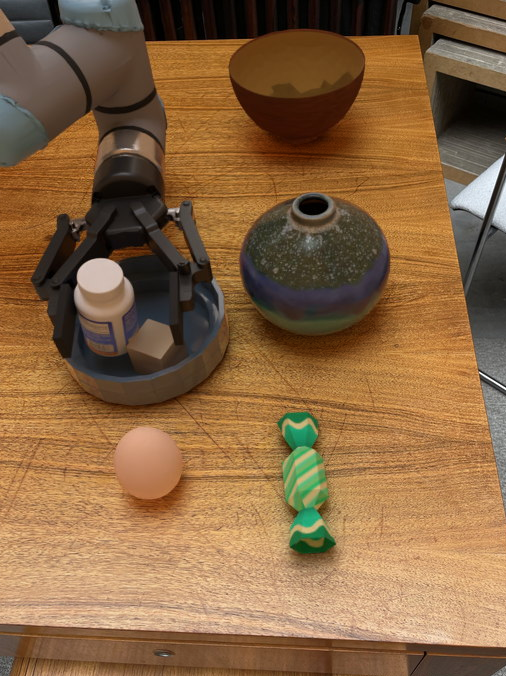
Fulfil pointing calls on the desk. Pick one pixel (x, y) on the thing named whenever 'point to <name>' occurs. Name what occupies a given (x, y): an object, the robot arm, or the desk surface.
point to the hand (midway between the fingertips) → (119, 341)
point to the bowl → (297, 81)
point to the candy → (305, 484)
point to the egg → (147, 463)
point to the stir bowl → (153, 303)
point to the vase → (314, 264)
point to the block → (154, 348)
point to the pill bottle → (105, 307)
